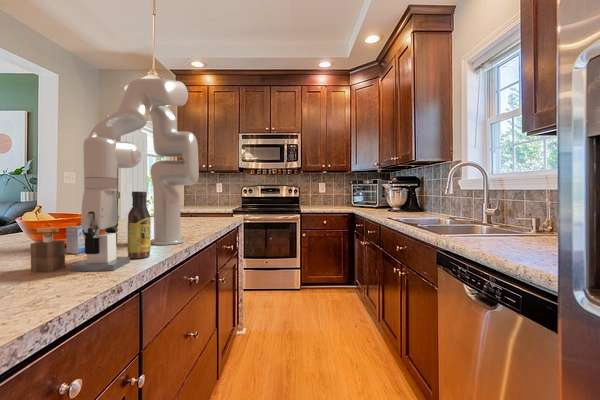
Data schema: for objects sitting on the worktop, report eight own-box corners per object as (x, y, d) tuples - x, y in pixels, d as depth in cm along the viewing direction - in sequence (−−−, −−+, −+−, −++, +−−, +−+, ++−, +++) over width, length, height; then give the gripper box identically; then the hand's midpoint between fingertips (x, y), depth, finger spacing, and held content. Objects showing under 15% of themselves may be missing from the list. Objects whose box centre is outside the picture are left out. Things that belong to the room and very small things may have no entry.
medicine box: (77, 254, 104) (77, 227, 103) (66, 253, 105) (65, 226, 104) (98, 250, 111) (97, 224, 111) (86, 249, 112) (86, 224, 112)
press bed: (92, 262, 91) (92, 257, 91) (130, 262, 92) (129, 256, 92) (70, 271, 81) (70, 265, 81) (113, 270, 82) (113, 264, 82)
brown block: (44, 267, 86) (44, 240, 86) (65, 266, 86) (64, 240, 86) (31, 271, 81) (30, 243, 81) (52, 271, 81) (52, 243, 81)
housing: (96, 259, 89) (96, 233, 89) (116, 258, 90) (115, 232, 89) (87, 263, 84) (86, 235, 84) (107, 262, 85) (107, 235, 84)
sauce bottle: (144, 259, 96) (143, 191, 95) (123, 259, 96) (122, 191, 95) (154, 255, 102) (154, 191, 102) (134, 255, 102) (134, 191, 102)
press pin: (44, 252, 85) (44, 227, 85) (62, 252, 86) (62, 227, 86) (32, 255, 81) (32, 229, 81) (51, 255, 82) (51, 229, 81)
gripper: (102, 185, 94) (103, 245, 95) (65, 184, 77) (67, 257, 78) (129, 186, 95) (130, 244, 96) (99, 184, 78) (100, 256, 78)
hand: (102, 250), depth 87 cm, fingers open, 9 cm apart
